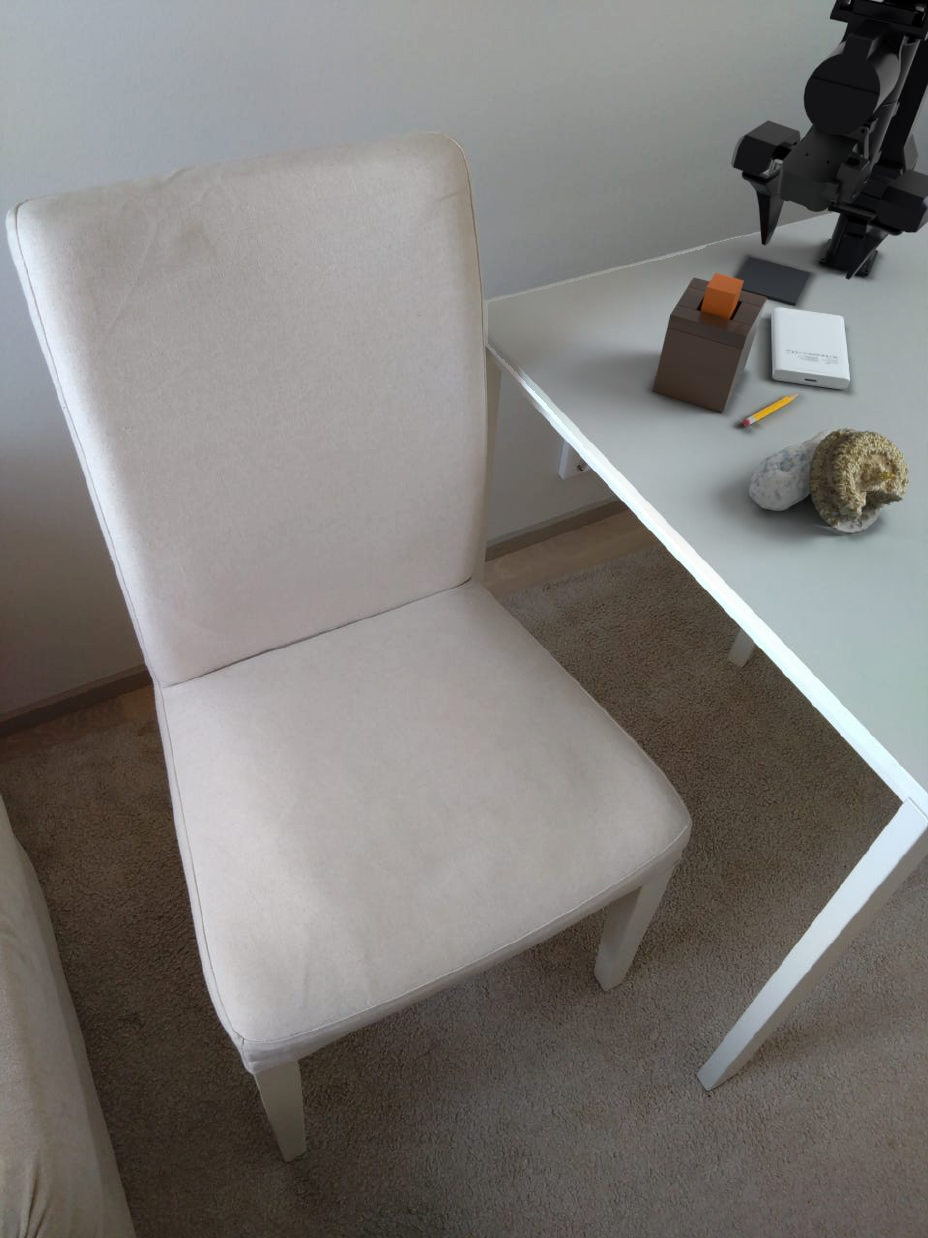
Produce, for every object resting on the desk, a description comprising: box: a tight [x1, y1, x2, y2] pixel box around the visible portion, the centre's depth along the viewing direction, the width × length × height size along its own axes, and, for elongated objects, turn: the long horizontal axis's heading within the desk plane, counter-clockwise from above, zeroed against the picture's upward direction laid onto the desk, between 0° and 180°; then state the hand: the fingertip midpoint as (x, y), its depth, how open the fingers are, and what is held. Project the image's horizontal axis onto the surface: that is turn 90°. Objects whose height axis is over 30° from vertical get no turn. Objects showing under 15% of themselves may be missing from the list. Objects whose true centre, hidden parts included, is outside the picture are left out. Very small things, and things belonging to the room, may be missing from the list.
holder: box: [652, 276, 768, 414], centre depth 97 cm, size 8×8×10 cm
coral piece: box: [809, 427, 910, 534], centre depth 84 cm, size 10×10×5 cm
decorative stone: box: [748, 429, 838, 512], centre depth 89 cm, size 13×7×5 cm, turn 124°
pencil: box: [742, 393, 798, 428], centre depth 98 cm, size 1×9×1 cm, turn 128°
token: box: [701, 272, 744, 320], centre depth 93 cm, size 3×3×4 cm
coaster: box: [736, 255, 811, 306], centre depth 114 cm, size 8×8×1 cm
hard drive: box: [770, 306, 851, 390], centre depth 104 cm, size 2×8×12 cm
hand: (806, 260), depth 91 cm, fingers open, 9 cm apart
